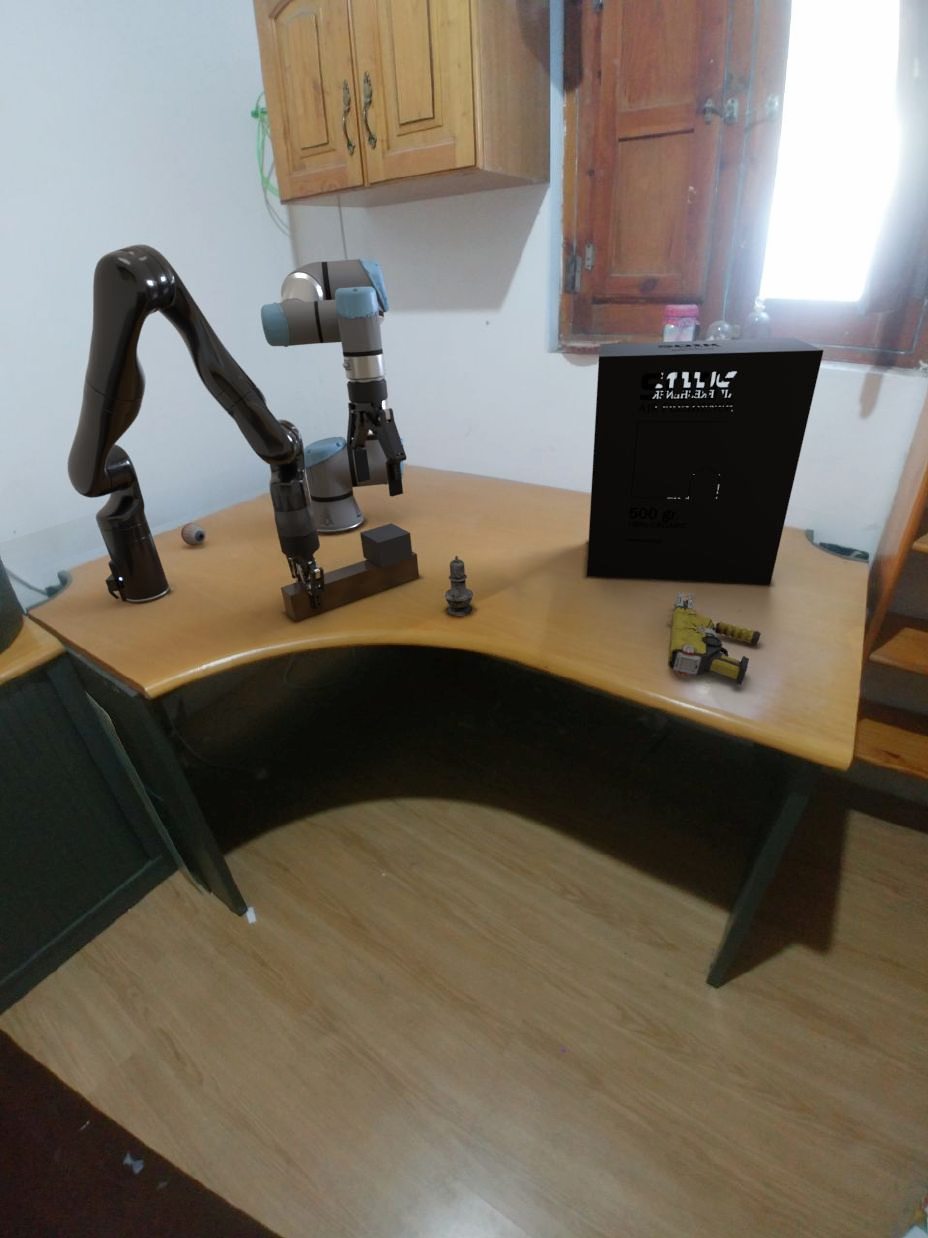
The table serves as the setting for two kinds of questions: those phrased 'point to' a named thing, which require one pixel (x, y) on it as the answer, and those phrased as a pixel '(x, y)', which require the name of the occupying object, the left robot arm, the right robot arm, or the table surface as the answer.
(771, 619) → the table surface
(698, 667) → the toy gun
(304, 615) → the dark wooden beam
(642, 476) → the cardboard box
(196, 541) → the eyeball
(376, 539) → the cap block
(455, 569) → the salt shaker
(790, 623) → the table surface
